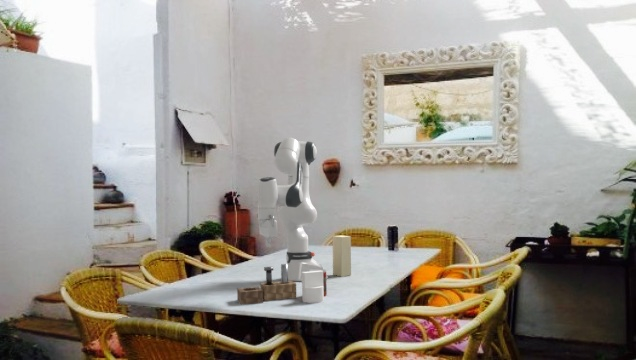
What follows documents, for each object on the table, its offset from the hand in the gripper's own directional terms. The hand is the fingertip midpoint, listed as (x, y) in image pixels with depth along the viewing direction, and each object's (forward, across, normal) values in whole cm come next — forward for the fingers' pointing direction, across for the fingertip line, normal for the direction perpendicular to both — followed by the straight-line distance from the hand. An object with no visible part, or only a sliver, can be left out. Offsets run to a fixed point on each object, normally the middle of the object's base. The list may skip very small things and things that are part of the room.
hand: (268, 246), depth 226 cm
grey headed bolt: (+17, 0, 0) cm, 17 cm away
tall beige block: (+22, +42, -50) cm, 69 cm away
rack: (+22, -3, +9) cm, 24 cm away
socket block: (+22, 0, -4) cm, 22 cm away
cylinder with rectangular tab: (+22, -12, -16) cm, 30 cm away
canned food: (+22, -3, -21) cm, 31 cm away
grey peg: (+22, 0, -7) cm, 23 cm away
